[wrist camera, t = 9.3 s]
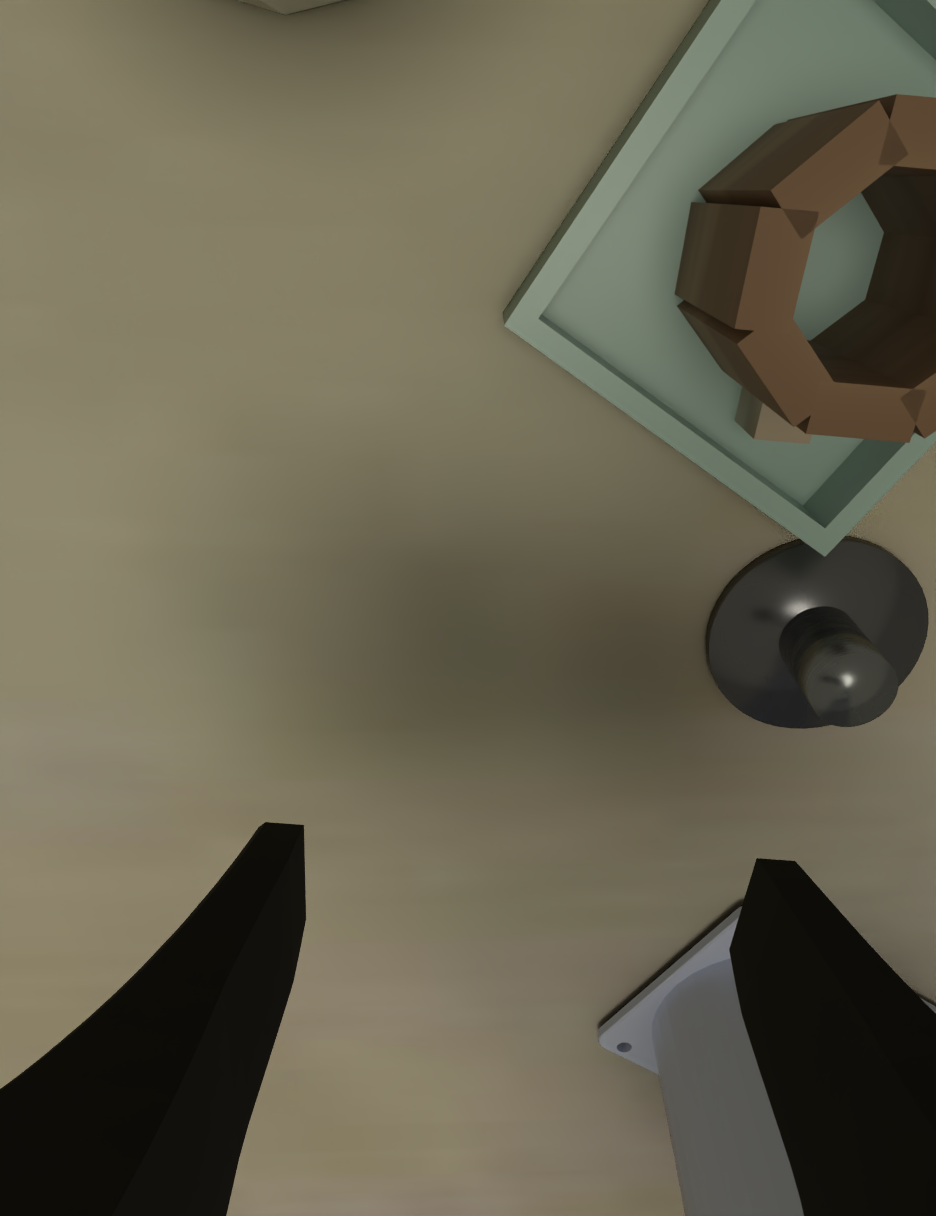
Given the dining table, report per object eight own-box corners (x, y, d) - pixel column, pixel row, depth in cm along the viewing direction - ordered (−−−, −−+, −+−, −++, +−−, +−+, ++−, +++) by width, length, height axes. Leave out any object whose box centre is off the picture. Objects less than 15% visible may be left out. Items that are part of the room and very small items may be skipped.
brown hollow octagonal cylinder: (707, 112, 16) (787, 84, 12) (957, 135, 17) (1128, 114, 12) (652, 413, 19) (701, 482, 15) (867, 432, 19) (981, 505, 15)
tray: (1103, 192, 17) (1174, 193, 16) (796, 525, 21) (825, 556, 19) (785, -115, 15) (823, -154, 13) (503, 312, 19) (503, 325, 17)
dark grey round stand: (967, 609, 22) (1031, 666, 19) (813, 752, 24) (852, 820, 21) (810, 493, 20) (856, 538, 18) (662, 655, 23) (684, 715, 20)
